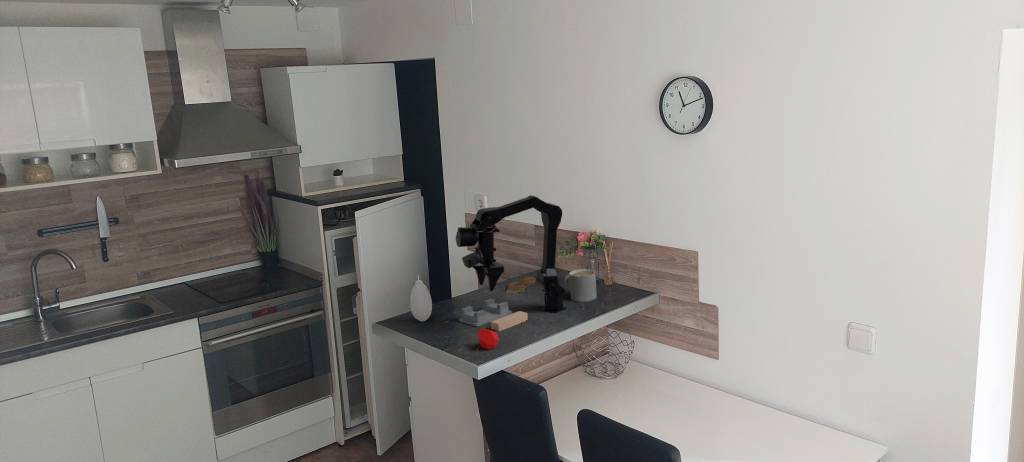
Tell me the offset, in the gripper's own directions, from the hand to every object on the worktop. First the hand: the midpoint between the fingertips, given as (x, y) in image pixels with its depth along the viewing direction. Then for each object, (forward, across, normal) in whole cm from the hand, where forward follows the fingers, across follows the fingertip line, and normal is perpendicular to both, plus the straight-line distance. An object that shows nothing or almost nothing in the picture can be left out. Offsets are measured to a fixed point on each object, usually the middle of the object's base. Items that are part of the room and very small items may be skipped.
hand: (486, 287), depth 261 cm
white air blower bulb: (+15, -17, -18) cm, 29 cm away
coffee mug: (+10, -6, +42) cm, 44 cm away
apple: (+14, +22, -8) cm, 27 cm away
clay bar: (+13, +6, +6) cm, 16 cm away
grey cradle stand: (+13, -6, +2) cm, 14 cm away
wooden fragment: (+11, -36, +31) cm, 49 cm away
